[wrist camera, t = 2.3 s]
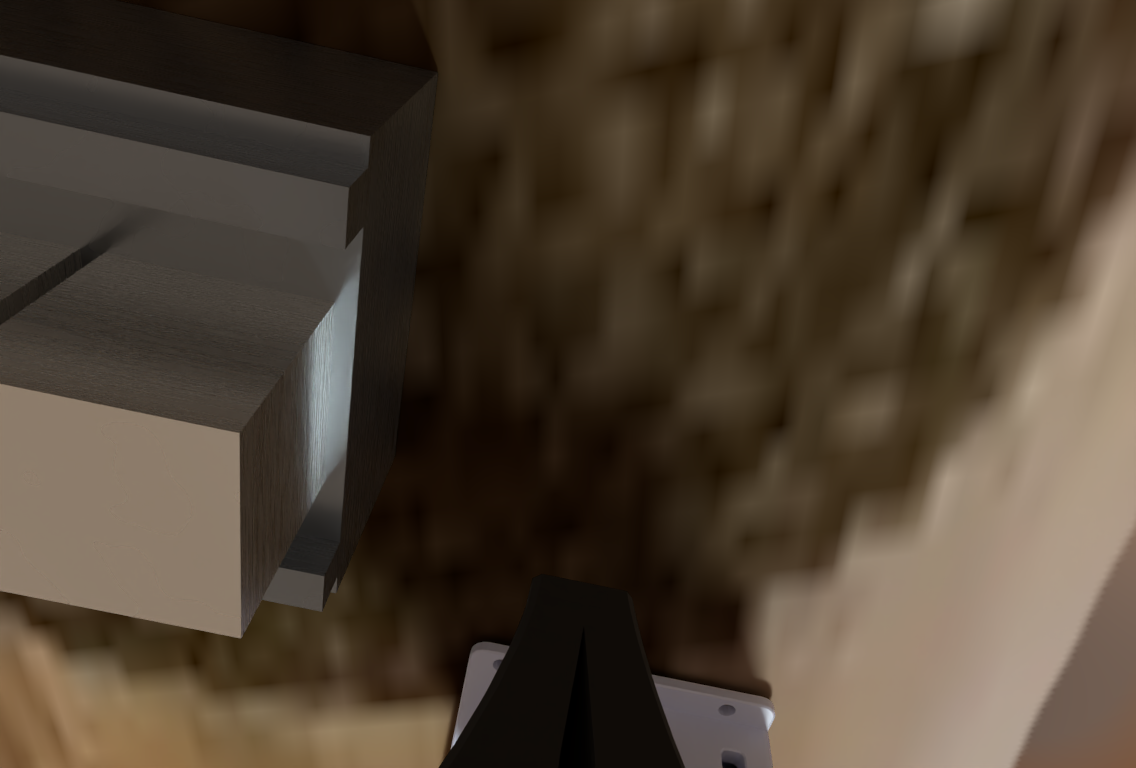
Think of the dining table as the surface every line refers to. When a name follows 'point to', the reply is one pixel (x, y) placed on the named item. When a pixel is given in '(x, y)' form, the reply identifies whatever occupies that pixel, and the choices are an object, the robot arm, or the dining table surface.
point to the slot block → (235, 198)
